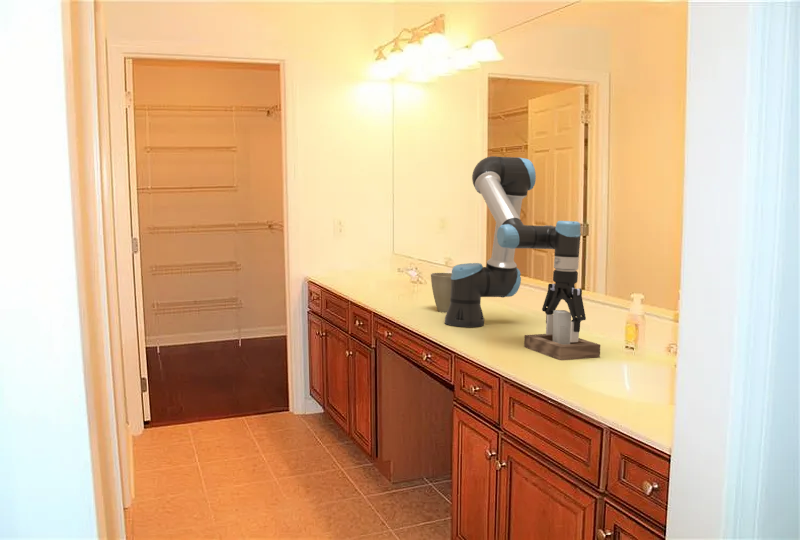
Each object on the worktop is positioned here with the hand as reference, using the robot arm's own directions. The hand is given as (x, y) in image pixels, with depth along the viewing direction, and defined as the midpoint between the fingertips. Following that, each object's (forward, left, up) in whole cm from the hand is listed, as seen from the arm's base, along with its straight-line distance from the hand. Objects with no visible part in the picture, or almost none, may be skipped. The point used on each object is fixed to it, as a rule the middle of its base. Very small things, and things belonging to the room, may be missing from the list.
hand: (561, 338), depth 210 cm
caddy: (0, 0, -4) cm, 4 cm away
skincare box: (0, 0, -4) cm, 4 cm away
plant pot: (-82, +2, -5) cm, 82 cm away
